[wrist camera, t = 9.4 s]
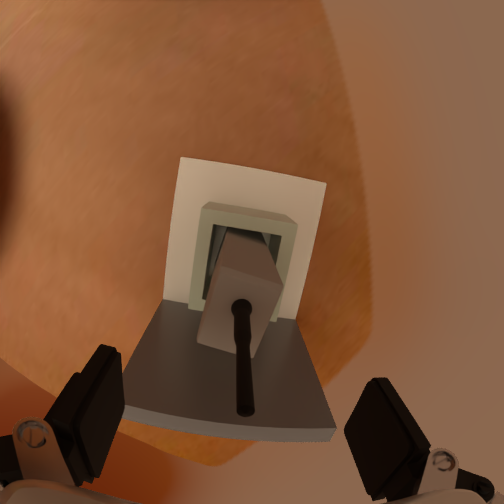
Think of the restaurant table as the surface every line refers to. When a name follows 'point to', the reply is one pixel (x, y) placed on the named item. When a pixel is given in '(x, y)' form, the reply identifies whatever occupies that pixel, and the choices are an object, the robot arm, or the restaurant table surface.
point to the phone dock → (192, 304)
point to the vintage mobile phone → (240, 305)
